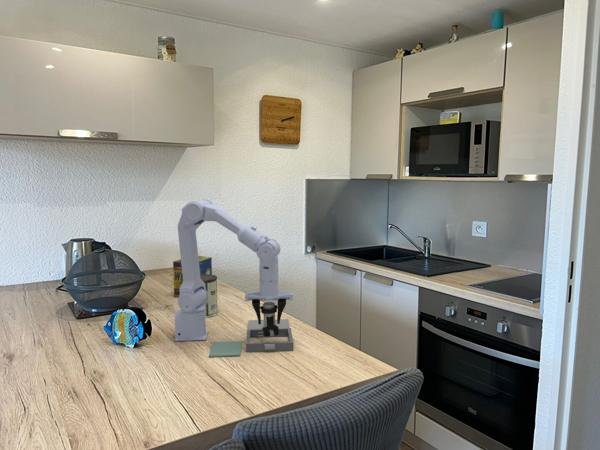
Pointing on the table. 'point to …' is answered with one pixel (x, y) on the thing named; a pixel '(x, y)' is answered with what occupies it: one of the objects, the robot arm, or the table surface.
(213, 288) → the coffee can
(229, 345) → the mat
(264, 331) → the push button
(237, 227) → the robot arm
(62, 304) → the table surface
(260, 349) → the equipment case
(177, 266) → the protein box
